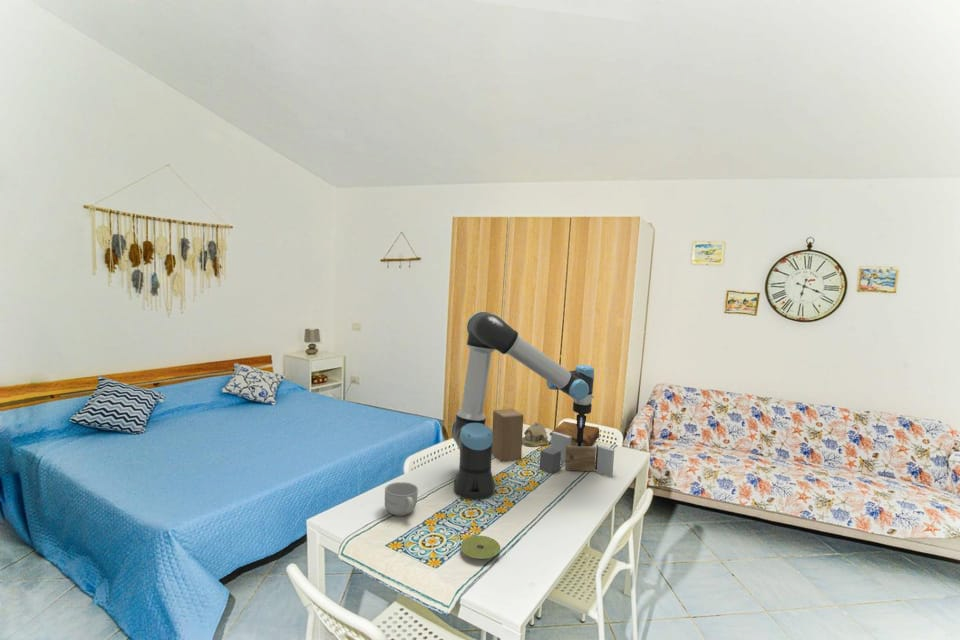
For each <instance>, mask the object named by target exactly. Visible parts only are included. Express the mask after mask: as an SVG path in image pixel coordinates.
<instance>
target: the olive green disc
mask: <svg viewBox="0 0 960 640" xmlns="http://www.w3.org/2000/svg"><path fill="white" fill-rule="evenodd" d="M460 550H461V551H462V553H463V554H464V555H465V556H468V557H470V558H473V559H490V558H492V557H495V556H497V555H498V554H499V553H500V551H501V545H500V544H499V542H498V541H497V540H496V539H494V538H493V537H490V536H486V535H472V536H468V537H466V538H465V539H464V540H462V541H461V543H460Z"/></svg>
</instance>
